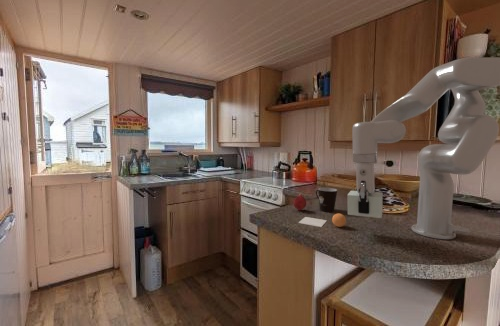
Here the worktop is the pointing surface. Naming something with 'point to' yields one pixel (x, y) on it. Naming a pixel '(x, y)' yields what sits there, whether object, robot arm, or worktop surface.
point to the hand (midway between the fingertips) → (365, 209)
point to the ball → (339, 220)
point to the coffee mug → (327, 199)
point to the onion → (299, 202)
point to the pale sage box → (374, 204)
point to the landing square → (313, 221)
